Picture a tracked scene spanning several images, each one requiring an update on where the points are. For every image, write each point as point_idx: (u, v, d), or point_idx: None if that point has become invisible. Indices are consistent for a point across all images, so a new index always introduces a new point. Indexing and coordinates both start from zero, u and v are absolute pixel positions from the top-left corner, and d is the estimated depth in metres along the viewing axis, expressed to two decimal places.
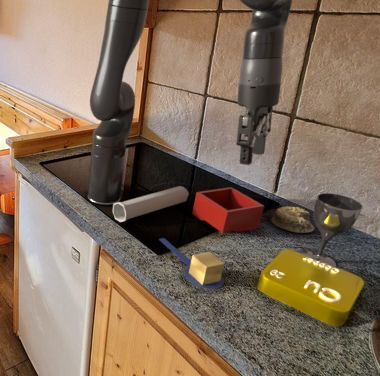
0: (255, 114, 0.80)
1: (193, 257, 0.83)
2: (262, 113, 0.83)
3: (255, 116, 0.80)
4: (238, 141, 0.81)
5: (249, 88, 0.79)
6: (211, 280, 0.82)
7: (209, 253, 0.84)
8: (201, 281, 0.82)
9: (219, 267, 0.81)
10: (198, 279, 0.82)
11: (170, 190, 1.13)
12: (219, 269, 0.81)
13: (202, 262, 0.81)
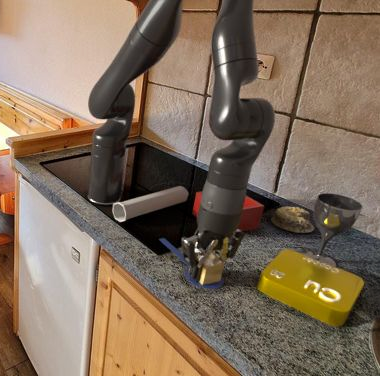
0: (202, 235, 0.77)
1: None
2: (218, 235, 0.79)
3: (201, 237, 0.77)
4: (184, 258, 0.81)
5: (202, 209, 0.77)
6: (211, 280, 0.82)
7: None
8: (201, 281, 0.82)
9: (219, 267, 0.81)
10: None
11: (170, 190, 1.13)
12: (219, 269, 0.81)
13: None
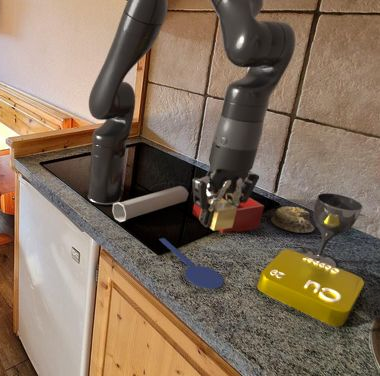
0: (214, 175, 0.73)
1: None
2: (232, 176, 0.74)
3: (213, 177, 0.73)
4: (194, 201, 0.77)
5: (215, 146, 0.72)
6: (223, 226, 0.78)
7: (221, 199, 0.80)
8: (212, 227, 0.78)
9: (232, 212, 0.77)
10: None
11: (170, 190, 1.13)
12: (232, 214, 0.77)
13: None
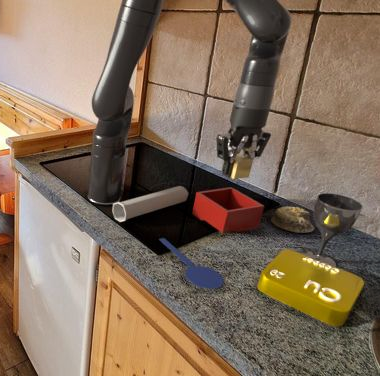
0: (234, 132, 0.90)
1: None
2: (249, 133, 0.92)
3: (234, 133, 0.91)
4: (218, 155, 0.94)
5: (235, 108, 0.90)
6: (241, 175, 0.95)
7: (239, 154, 0.97)
8: (232, 176, 0.95)
9: (248, 163, 0.94)
10: None
11: (170, 190, 1.13)
12: (248, 165, 0.94)
13: None
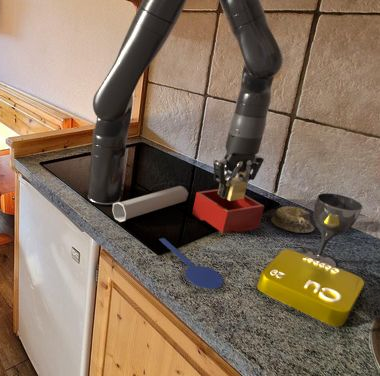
0: (230, 158, 0.98)
1: None
2: (243, 158, 0.99)
3: (229, 159, 0.98)
4: (215, 178, 1.01)
5: (230, 136, 0.97)
6: (237, 197, 1.02)
7: None
8: (229, 198, 1.02)
9: (243, 186, 1.01)
10: None
11: (170, 190, 1.13)
12: (243, 188, 1.01)
13: None
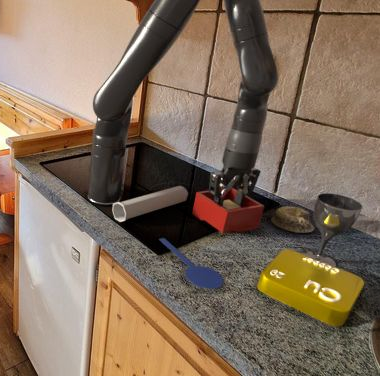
0: (227, 172, 0.99)
1: None
2: (239, 172, 1.00)
3: (226, 173, 0.99)
4: (209, 191, 1.02)
5: (227, 150, 0.98)
6: None
7: (228, 200, 1.07)
8: None
9: None
10: None
11: (170, 190, 1.13)
12: None
13: (224, 206, 1.04)
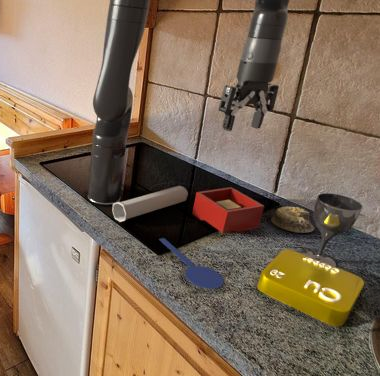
0: (241, 87, 0.91)
1: None
2: (255, 89, 0.92)
3: (241, 89, 0.91)
4: (220, 107, 0.94)
5: (242, 63, 0.90)
6: None
7: (228, 200, 1.07)
8: None
9: None
10: None
11: (169, 190, 1.13)
12: None
13: (224, 206, 1.04)
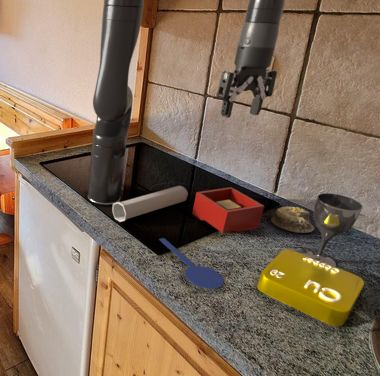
0: (239, 72, 0.90)
1: None
2: (253, 74, 0.92)
3: (239, 74, 0.91)
4: (218, 93, 0.93)
5: (240, 48, 0.90)
6: None
7: (228, 200, 1.07)
8: None
9: None
10: None
11: (169, 190, 1.13)
12: None
13: (224, 206, 1.04)
